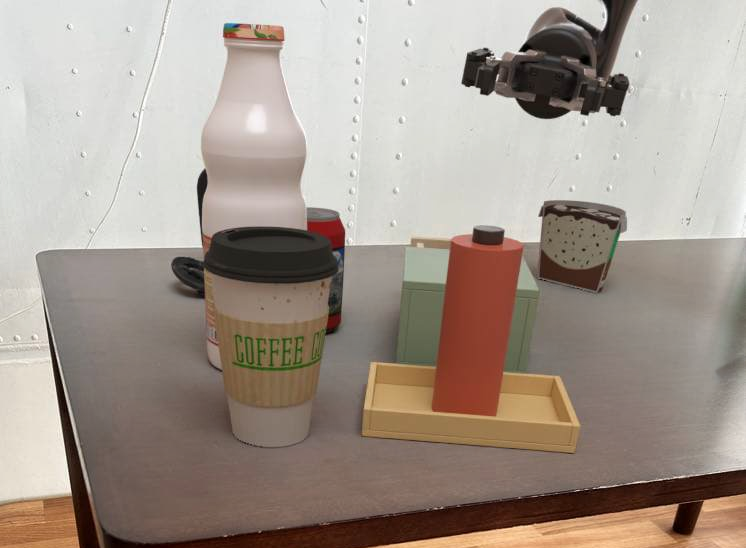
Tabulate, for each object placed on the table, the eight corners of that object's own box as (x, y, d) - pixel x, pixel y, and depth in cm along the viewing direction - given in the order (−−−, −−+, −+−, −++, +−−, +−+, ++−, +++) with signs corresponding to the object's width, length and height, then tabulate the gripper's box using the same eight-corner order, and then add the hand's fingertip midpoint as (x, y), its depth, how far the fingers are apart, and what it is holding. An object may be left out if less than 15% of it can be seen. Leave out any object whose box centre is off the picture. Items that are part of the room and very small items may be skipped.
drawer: (406, 283, 105) (411, 227, 101) (495, 289, 104) (504, 234, 101) (404, 326, 89) (410, 262, 86) (508, 334, 89) (519, 270, 85)
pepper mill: (494, 400, 73) (522, 223, 65) (498, 426, 68) (529, 238, 60) (431, 395, 73) (451, 218, 65) (431, 420, 68) (453, 233, 60)
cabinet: (398, 324, 92) (405, 246, 88) (510, 333, 92) (523, 254, 87) (395, 369, 80) (403, 280, 76) (524, 379, 79) (539, 290, 75)
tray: (555, 400, 75) (560, 376, 74) (574, 453, 66) (580, 425, 64) (369, 386, 76) (370, 361, 75) (361, 436, 66) (363, 408, 65)
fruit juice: (187, 363, 79) (169, 19, 64) (245, 339, 86) (241, 23, 71) (267, 385, 75) (267, 24, 60) (321, 358, 82) (334, 28, 67)
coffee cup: (289, 469, 61) (293, 261, 53) (184, 436, 65) (173, 239, 57) (352, 425, 68) (364, 237, 60) (254, 398, 72) (253, 219, 64)
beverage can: (282, 337, 87) (284, 218, 80) (277, 318, 92) (277, 205, 86) (345, 337, 88) (351, 219, 81) (335, 318, 93) (340, 206, 87)
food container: (629, 288, 112) (647, 211, 106) (607, 296, 108) (625, 216, 102) (550, 270, 119) (564, 196, 113) (527, 276, 115) (540, 200, 109)
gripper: (493, 11, 79) (463, 22, 66) (641, 39, 76) (639, 55, 64) (475, 98, 83) (444, 123, 71) (615, 126, 81) (607, 157, 68)
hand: (536, 91), depth 67 cm, fingers open, 8 cm apart
